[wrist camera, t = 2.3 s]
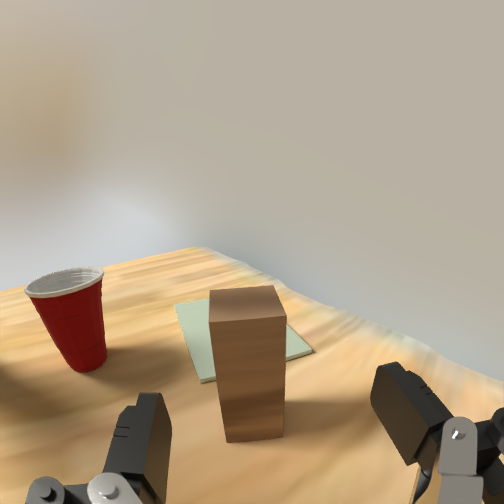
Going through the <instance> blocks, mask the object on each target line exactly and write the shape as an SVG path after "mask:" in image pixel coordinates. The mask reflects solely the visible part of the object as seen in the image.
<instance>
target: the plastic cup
mask: <svg viewBox="0 0 504 504" xmlns="http://www.w3.org/2000/svg"><path fill="white" fill-rule="evenodd" d="M103 276H104V270H103V269H102V268H99V267H78V268H70V269H66V270H61V271H57V272H54V273H51V274H48V275H45V276H42V277H40V278H38V279H35V280H33V281H32V282H30V283H29V284H28V285H26V286H25V289H24V291H25V293H26V294H27V295H28V296H29V297H30V299H31V300H32V303H33V305H34V306H35V308H36V310H37V312H38V313H39V315H40V317H41V319H42V321H43V323H44V324H45V326H46V328H47V330H48V332H49V334H50V336H51V337H52V339H53V341H54V343H55V345H56V346H57V348H58V349H59V350H60V352H61V354H62V355H63V357H64V359H65V360H66V362H67V363H68V364H69V366H70V367H71V368H72V369H73V370H75V371H79V372H88V371H91V370H95V369H96V368H98V367H100V366H101V365H102V364H103V363H104V362H105V361H106V357H107V354H106V353H107V350H106V343H105V331H104V322H103V312H102V301H101V296H102V292H101V288H102V277H103Z"/></svg>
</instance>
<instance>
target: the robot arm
mask: <svg viewBox="0 0 504 504" xmlns="http://www.w3.org/2000/svg"><path fill="white" fill-rule="evenodd" d="M370 399H371V405H372V407H373V409H374V411H375V413H376V414H377V416H378V418H379V419H380V421H381V423H382V424H383V426H384V428H385V429H386V431H387V433H388V434H389V436H390V438H391V439H392V441H393V443H394V445H395V446H396V448H397V450H398V451H399V453H400V455H401V456H402V458H403V460H404V462H405V463H406V465H407V466H409V465H411V464H413V463H416V462H418V464H419V465H420V466H419V468H418V470H417V474H416V479H415V483H414V486H413V490H412V494H411V497H410V501H409V504H481V502H482V499H483V501H484V503H485V504H504V465H503V463H502V462H501V460H500V459H499V455H500V454H501V453H502V454H503V455H504V408H500V409H498V410H496V412H495V413H494V415H493V416H492V418H491V419H490V420H486V421H481V422H477V423H473V422H472V421H471V420H470V419H468V418H465V417H454V416H453V415H452V414H451V413H450V411H449V410H448V409H447V408H446V407H445V405H444V404H443V403H442V402H441V401H440V399H439V398H438V397H437V396H436V395H435V393H433V391H432V390H431V389H430V388H429V386H428V387H427V384H426V383H425V382H424V381H423V379H422V378H421V377H420V376H418V375H417V374H415V373H413V372H411V371H410V370H409V371H405V369H404V368H403V367H402V366H401V365H400V364H399V363H398V362H392V363H388V364H384V365H381V366H378V368H377V370H376V374H375V378H374V383H373V387H372V391H371V396H370ZM113 436H114V437H113V438H112V441H111V445H110V448H109V452H108V455H107V459H106V463H105V466H104V469H103V472H102V473H101V474H99V475H97V476H95V477H94V478H93V479H92V480H91V481H90V482H89V483H87V484H81V485H66V486H63V485H62V484H61V483H60V482H59V481H58V480H56V479H54V478H52V477H41V478H38V479H36V480H35V481H34V482H33V483H32V484H31V486H30V488H29V492H28V495H27V498H26V502H25V504H165V502H166V489H167V478H168V467H169V457H170V447H171V438H172V426H171V420H170V417H169V414H168V411H167V409H166V406H165V403H164V399H163V396H162V394H161V393H140V394H139V396H138V399H137V403H136V406H127V407H126V408H125V409H124V410H123V412H122V413H121V414H120V415H119V418H118V421H117V424H116V428H115V431H114V434H113Z"/></svg>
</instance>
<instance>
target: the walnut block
mask: <svg viewBox="0 0 504 504" xmlns="http://www.w3.org/2000/svg"><path fill="white" fill-rule="evenodd" d="M208 323H209V331H210V338H211V346H212V353H213V360H214V367H215V374H216V381H217V387H218V394H219V400H220V406H221V412H222V418H223V424H224V430H225V435H226V441H227V443H231V442H244V441H254V440H263V439H271V438H279V437H283V423H284V400H285V370H286V324H287V315H286V313H285V311H284V308H283V306H282V304H281V302H280V299H279V297H278V295H277V293H276V290H275V288H274V286H273V285H271V286H259V287H246V288H234V289H220V290H210V298H209V321H208Z"/></svg>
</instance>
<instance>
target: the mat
mask: <svg viewBox="0 0 504 504" xmlns="http://www.w3.org/2000/svg"><path fill="white" fill-rule="evenodd" d="M174 306H175V310H176V313H177V317H178V320H179V323H180V326H181V329H182V332H183V335H184V338H185V341H186V344H187V347H188V350H189V353H190V356H191V358H192V361H193V364H194V367H195V370H196V372H197V375H198V378H199V380H200V383H205V382H209V381H214V380H216V374H215V367H214V360H213V353H212V346H211V338H210V331H209V323H208V321H209V298H207V299H202V300H196V301H190V302H185V303H179V304H174ZM310 353H312V349H311V348H310V347H309V346H308V345H307V344H306V343H305V342H304V341H303V340H302V339H301V338H300V337H299V336H298V335H297V334H296V333H295V332H294V331H293V330H292V329H291V328H290V327H289V326H288V325H287V324H286V361H288V360H291V359H294V358H298V357H301V356H304V355H307V354H310Z"/></svg>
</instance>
